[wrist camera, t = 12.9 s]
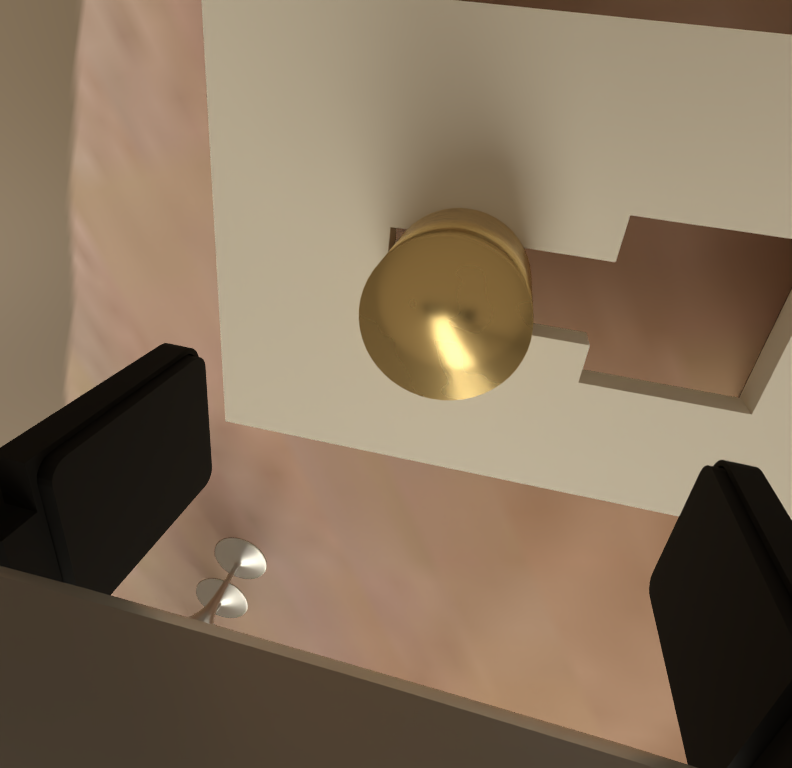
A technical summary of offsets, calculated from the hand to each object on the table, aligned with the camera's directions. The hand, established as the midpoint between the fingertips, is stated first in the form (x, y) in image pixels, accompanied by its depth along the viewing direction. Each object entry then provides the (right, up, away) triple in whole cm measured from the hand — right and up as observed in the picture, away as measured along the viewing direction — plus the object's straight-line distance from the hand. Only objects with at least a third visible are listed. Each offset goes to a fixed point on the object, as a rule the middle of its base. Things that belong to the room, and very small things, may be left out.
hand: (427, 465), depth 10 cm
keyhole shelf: (+7, +9, +17) cm, 21 cm away
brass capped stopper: (+3, +8, +14) cm, 17 cm away
